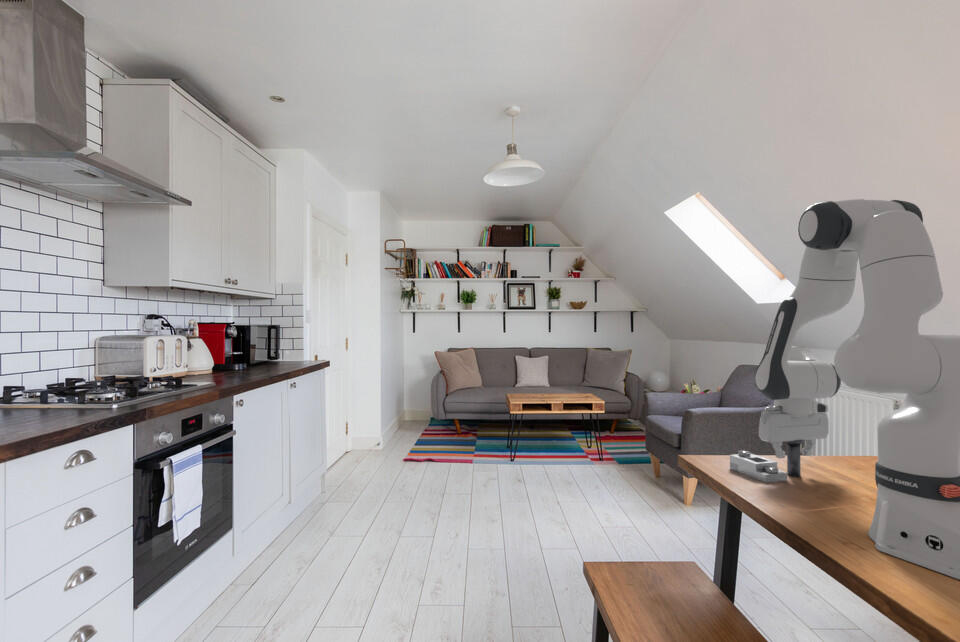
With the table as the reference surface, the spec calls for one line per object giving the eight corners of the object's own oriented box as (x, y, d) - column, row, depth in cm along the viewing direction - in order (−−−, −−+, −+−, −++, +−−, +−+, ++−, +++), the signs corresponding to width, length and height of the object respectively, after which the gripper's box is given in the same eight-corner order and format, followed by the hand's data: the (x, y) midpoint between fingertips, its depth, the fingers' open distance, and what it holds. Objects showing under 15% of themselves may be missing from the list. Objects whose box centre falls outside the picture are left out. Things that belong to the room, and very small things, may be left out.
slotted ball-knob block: (787, 480, 121) (787, 461, 121) (765, 482, 119) (765, 463, 119) (750, 467, 133) (750, 449, 133) (730, 469, 131) (729, 451, 131)
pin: (807, 477, 124) (807, 439, 124) (794, 478, 123) (794, 440, 123) (793, 472, 128) (792, 436, 128) (780, 473, 127) (779, 437, 127)
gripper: (771, 409, 120) (772, 462, 120) (833, 405, 125) (834, 457, 125) (752, 405, 126) (752, 455, 126) (811, 402, 131) (812, 451, 131)
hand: (793, 456), depth 125 cm, fingers open, 8 cm apart
